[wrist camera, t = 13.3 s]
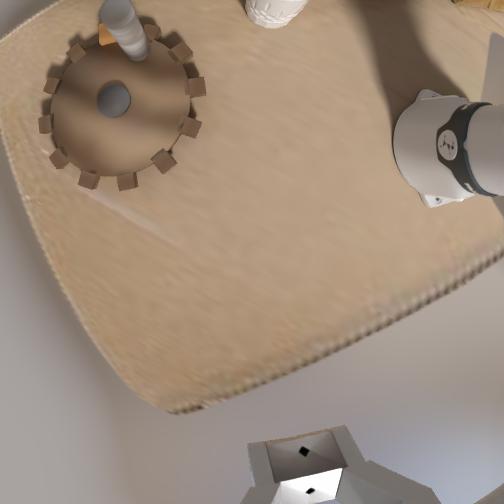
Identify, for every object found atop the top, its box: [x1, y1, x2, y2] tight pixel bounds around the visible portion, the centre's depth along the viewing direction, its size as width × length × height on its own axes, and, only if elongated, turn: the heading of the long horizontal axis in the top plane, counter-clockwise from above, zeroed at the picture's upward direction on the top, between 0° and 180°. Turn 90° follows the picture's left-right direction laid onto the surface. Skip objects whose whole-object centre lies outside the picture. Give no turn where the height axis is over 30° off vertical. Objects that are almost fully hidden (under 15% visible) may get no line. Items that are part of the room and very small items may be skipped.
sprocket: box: [38, 0, 206, 191], centre depth 28 cm, size 22×22×14 cm
